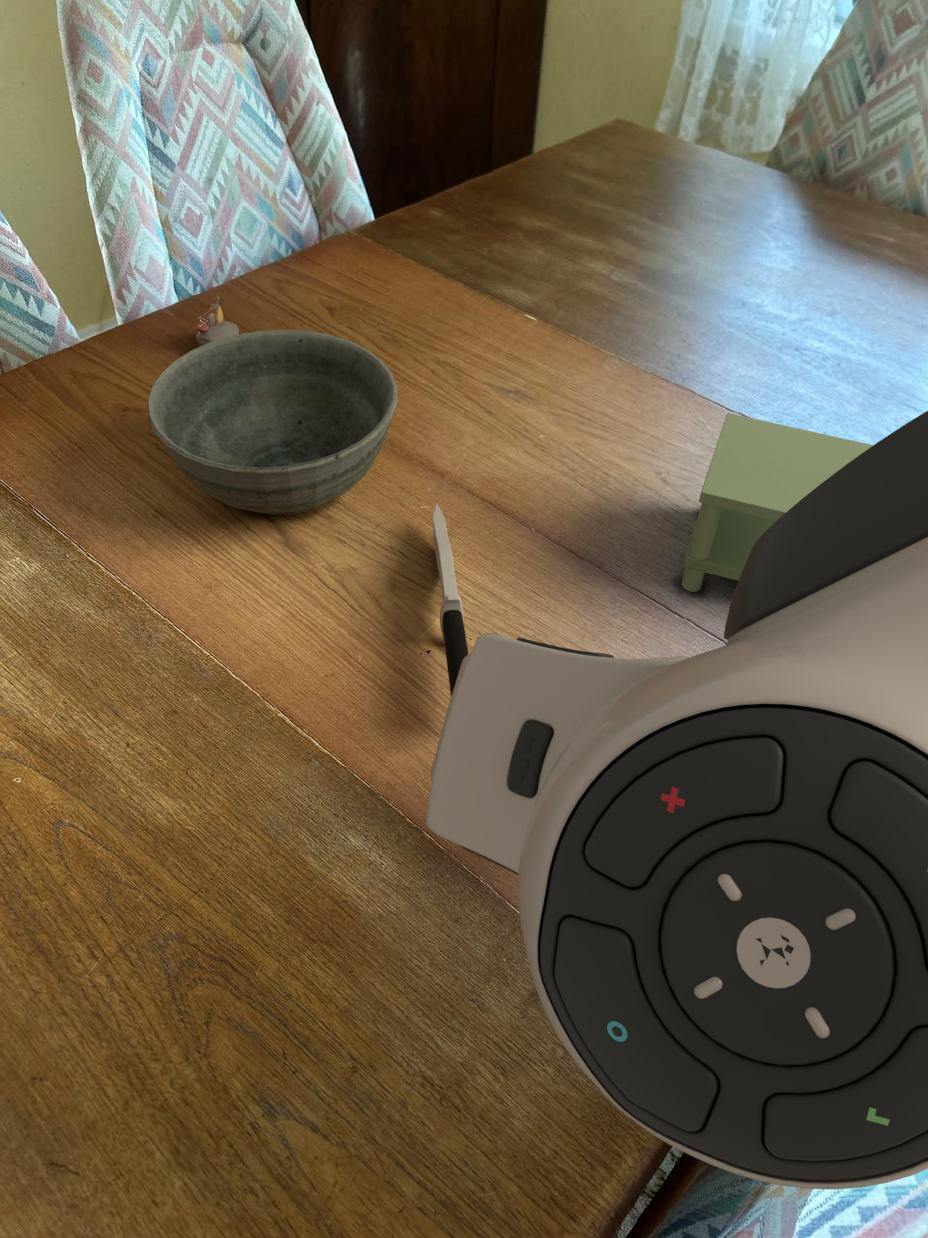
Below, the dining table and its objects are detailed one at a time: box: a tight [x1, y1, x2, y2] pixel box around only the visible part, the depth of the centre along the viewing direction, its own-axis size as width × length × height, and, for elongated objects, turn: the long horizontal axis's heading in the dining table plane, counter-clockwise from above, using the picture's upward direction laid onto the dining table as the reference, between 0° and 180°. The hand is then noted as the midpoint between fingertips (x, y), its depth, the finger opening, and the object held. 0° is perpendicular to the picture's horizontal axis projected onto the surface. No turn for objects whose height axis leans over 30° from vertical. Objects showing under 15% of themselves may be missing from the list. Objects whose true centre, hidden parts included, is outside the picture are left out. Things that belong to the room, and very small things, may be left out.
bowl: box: [147, 329, 399, 516], centre depth 91 cm, size 21×21×10 cm
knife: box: [432, 503, 469, 698], centre depth 81 cm, size 25×2×5 cm, turn 5°
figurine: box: [195, 294, 240, 347], centre depth 109 cm, size 5×4×6 cm
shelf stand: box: [681, 412, 874, 593], centre depth 86 cm, size 14×12×10 cm
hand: (715, 775), depth 44 cm, fingers open, 8 cm apart
